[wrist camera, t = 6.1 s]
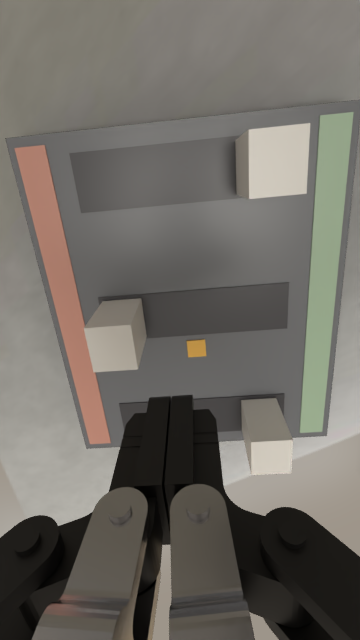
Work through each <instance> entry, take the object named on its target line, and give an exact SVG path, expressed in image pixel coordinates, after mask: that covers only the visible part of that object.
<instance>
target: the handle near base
mask: <svg viewBox="0 0 360 640" xmlns="http://www.w3.org/2000/svg"><path fill="white" fill-rule="evenodd" d="M309 139H310V123H305V124H295V125H286V126H276V127H267V128H258V129H249V130H247V131H246V132H245V133H244V134H242V135H241V136H240V137H239V138H237V139H236V140H235V146H236V191H237V195H239V196H242V197H244V198H247V199H256V198H267V197H277V196H288V195H298V194H307V176H308V158H309Z"/></svg>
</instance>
